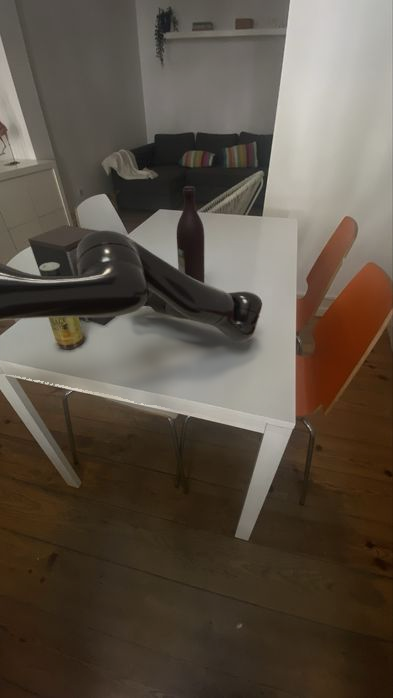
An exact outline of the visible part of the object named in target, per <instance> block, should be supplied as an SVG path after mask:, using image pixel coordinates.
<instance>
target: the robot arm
mask: <svg viewBox="0 0 393 698" xmlns="http://www.w3.org/2000/svg"><path fill="white" fill-rule="evenodd" d="M76 260H77V270H78V276H41V275H40V274H39V275H38V274H33V273H29V272H25V271H21V270H18V269H16V268H13V267H11V266H9V265H6V264H4V263H2V262H0V321H12V320H24V319H26V320H27V319H44V318H45V319H46V318H47V319H49V318H50V317H112V316H116V317H119V316H124V315H129V314H132V313H134V312H137V311H139V310H140V309H141V308H142V307H150V308H151V309H152V310H153V311H154V312H156V313H158V314H161V315H165V316H168V317H169V316H170V317H173V318H177V319H183V320H190V321H193V322H197V323H201V324H205V325H210V326H213V327H214V328H216V329H218V330H219V331H220V332H221V333H222V334H223V335H225V336H226V337H228V338H229V339H231V340H233V341H236V342H241V343H243V342H247V341H249V340H251V339H252V338H253V337H254V336H255V333H256V330H257V325H258V323H259V319H260V314H261V312H262V308H263V301H262V299H261V297H259V296H258V295H257V294H256V293H254V292H251V291H235V292H234V291H232V292H227V291H224V290H222V289H220V288H217V287H215V286H212V285H210V284H207V283H205V282H204V283H202V282H200V281H198V280H196V279H194V278H192V277H190V276H188V275H186V274H185V273H183V272H181V271H180V270H178V268H177V267H175V266H174V265H172V264H170V263H169V262H166V261H165V260H164V259H162V258H161V257H159V256H158V255H156V254H154V253H153V252H151V251H149V250H148V249H147V248H145V247H144V246H142V245H141V244H140V243H137V242H136V241H135V240H133V239H132V238H130V237H129V236H126V235H125V234H122V233H119V232H117V231H113V230H98V231H97V232H93V233H91V234H88V235H87V236H85V237H84V238H83V239H82V240H81V241H80V243H79V244H78V247H77V252H76Z"/></svg>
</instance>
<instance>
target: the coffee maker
mask: <svg viewBox="0 0 393 698" xmlns="http://www.w3.org/2000/svg"><path fill="white" fill-rule="evenodd" d="M97 231H99V230H96V229H92V228H91V229H90V228H86V227H79V226H72V225H66V224H63V225H61V226H59V227H56V228H53V229H50V230H48V231H45V232H43V233H40V234H38V235H35V236H33V237H30V238H28V239H27V240H28V242H29V246H30V248H31V251H32V254H33V257H34V260H35V263H36V266H37V269H38V272H39V276H42V275H41V274H40V270H39V267H40V266H41V265H42V264H45V263H49V262H55V263H58V264H60V267H61V275H62V276H78V270H77V260H76V252H77V247H78V244H79V243H80V241H81V240H82V239H83V238H84V237H85V236H87V235H88V234H91V233H93V232H97ZM116 317H117V316H112V317H79V320H81V321H85V322H91V323H92V322H93V323H96V324H99V325H102V326H105V325H106V324H108V323H110V321H112V320H113V319H114V318H116Z"/></svg>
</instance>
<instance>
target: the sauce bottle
mask: <svg viewBox="0 0 393 698" xmlns="http://www.w3.org/2000/svg"><path fill="white" fill-rule="evenodd" d="M39 270H40V272H39V275H40V274H41V275H42V276H62V275H61V267H60V264H58V263H55V262H49V263H45V264H42V265H41V266H40V267H39V269H38V271H39ZM41 275H40V276H41ZM48 320H49V323H50V327H51V330H52V333H53V336H54V340H55V342H56V344H57V346H58V347H59V348H61V349H63V350H73V349H75V348H77V347H80V345H82V344H83V341H84V333H83V329H82V326H81V321H80V319H79V317H50V318H48Z"/></svg>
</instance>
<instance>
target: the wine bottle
mask: <svg viewBox="0 0 393 698" xmlns="http://www.w3.org/2000/svg"><path fill="white" fill-rule="evenodd" d="M182 195H183V210H182V212H181V215H180V217H179V219H178V222H177V226H176V251H177V266H178V267H177V269H178V270H180V271H181V272H183V273H185V274H186V275H188V276H190V277H192V278H194V279H196V280H198V281H200V282H202V283H205V229H204V224H203V221H202V218H201V217H200V215H199V213H198V211H197V209H196V202H195V201H196V198H195V195H196V188H195V186H194V185H186V186H183V188H182Z"/></svg>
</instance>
